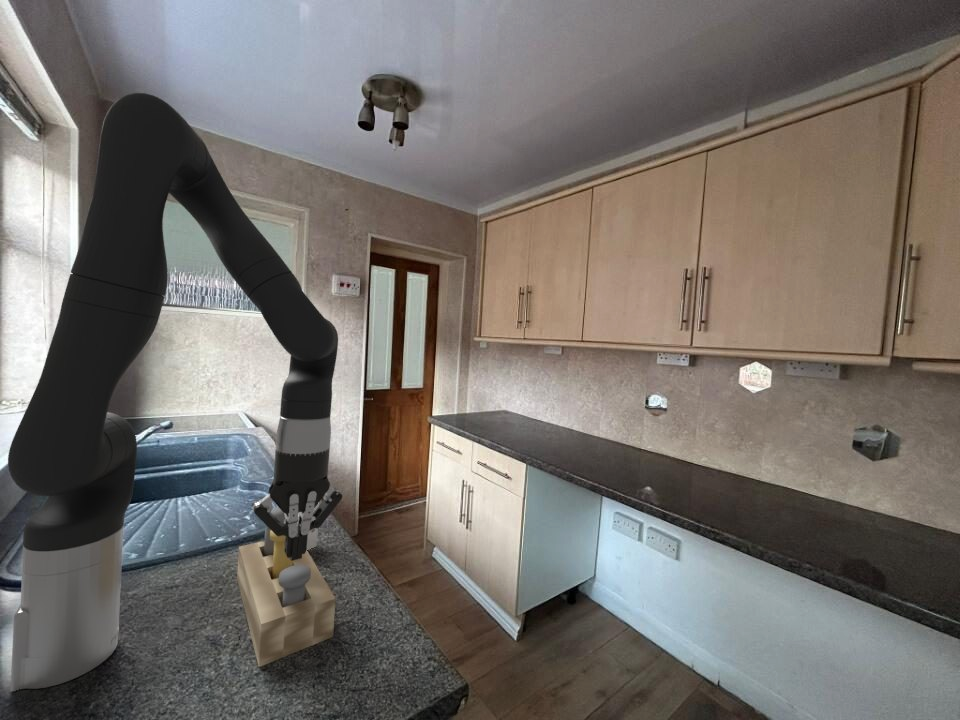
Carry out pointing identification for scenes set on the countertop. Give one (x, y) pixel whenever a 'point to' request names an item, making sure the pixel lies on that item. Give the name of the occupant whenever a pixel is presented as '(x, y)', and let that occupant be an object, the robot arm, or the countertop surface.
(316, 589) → the block
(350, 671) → the countertop surface
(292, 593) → the grey plug near
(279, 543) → the ochre plug
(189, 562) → the countertop surface
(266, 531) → the grey plug far
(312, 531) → the white wedge bracket
